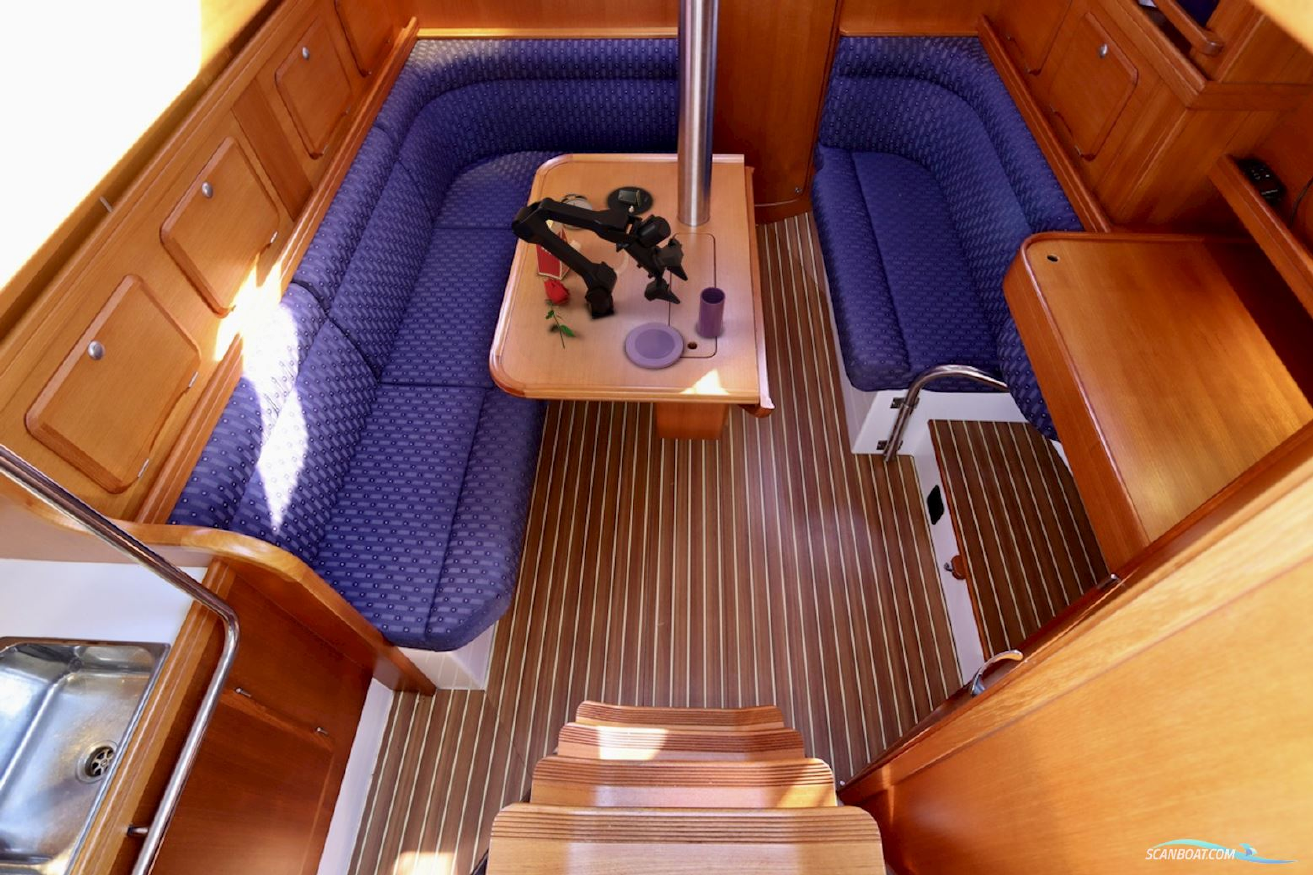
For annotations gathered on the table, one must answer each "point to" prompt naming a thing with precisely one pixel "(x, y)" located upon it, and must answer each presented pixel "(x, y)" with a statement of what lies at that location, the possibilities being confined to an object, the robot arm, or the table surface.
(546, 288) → the flower
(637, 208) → the black dish
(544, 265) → the milk carton
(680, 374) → the table surface
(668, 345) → the plate
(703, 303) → the tumbler
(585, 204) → the alarm clock
